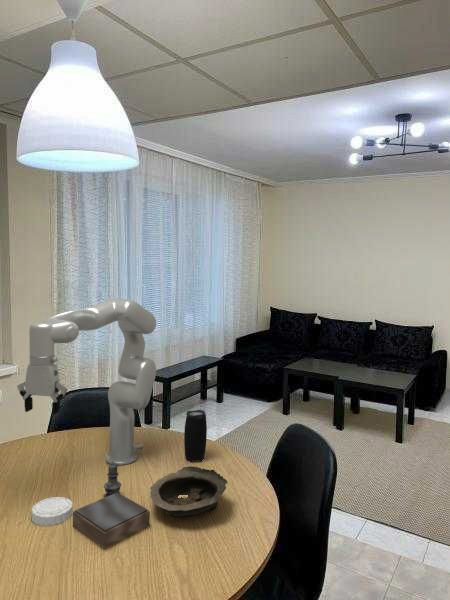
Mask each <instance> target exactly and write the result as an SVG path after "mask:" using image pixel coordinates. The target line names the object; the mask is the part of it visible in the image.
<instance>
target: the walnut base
mask: <svg viewBox="0 0 450 600" xmlns="http://www.w3.org/2000/svg"><path fill="white" fill-rule="evenodd" d="M118 492H119V491H118ZM118 492H117V493H115V494H112V495H110V496H107V497H103V498H100V499H98V500H96V501H93V502H91V503H89V504H87V505H84V506H82V507H79V508H77V509H75V510H73V512H72V527H73V528H74V529H75V530H77V531H78V532H80V533H81V534H82V535H84V536H85V537H86V538H88V539H89V540H91V541H92V542H93V543H95V544H96V545H97V544H98V546H99V547H100V548H102V549H103V550H106V549H107V547H108V548H109V546H110V547H111V546H113V545H115V544H117V543H119V542H121V541H123V540H124V539H127V538H129V537H130V536H133V535H134V534H136V533H138V532H140V531H142V530H144V529H145V528H148V527H149V525H150V522H151V521H150V520H151V519H150V518H151V515H150V513H151V511H150V510H149V509H147V508H146V507H144V506H142V505H140V504H139V503H138V502H135V501H134V500H131V499H130V498H128V497H126V496H125V495H123V494H121V493H120V492H119V493H118ZM147 526H148V527H147ZM139 530H140V531H139ZM105 548H106V549H105Z"/></svg>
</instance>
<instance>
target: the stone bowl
mask: <svg viewBox="0 0 450 600" xmlns="http://www.w3.org/2000/svg"><path fill="white" fill-rule="evenodd" d="M227 484H228V480H227V479H226V478H224V477H223V475H221V473H218V472H217V471H216V470H215V469H206V468H202V467H198V466H192V465H190V466H183V467H182V468H181V469H178V470H177V471H176V472H170V473H168V474H167V475H165V476H163V477H161V478H159V479H158V480H157V481H155V482H154V483H153V484H152V485H151V486H150V494H149V495H150V499H151V501H152V503H153V504H154V505H156V506H157V507H159V508H161V509H164V511H165V512H166V513H167V514H168V515H169V516H175V517H186V516H187V517H188V516H192V515H197V514H202V513H203V512H206V511H208V510H210V509H212V510H216V509H217V507H218V504H219V499H220V498H221V496H222V495H223V493H224V492H225V491H226V489H227V486H226V485H227ZM179 495H188V497H187V498H186V497H184V498H182V497H181V498H178V496H179Z"/></svg>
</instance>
